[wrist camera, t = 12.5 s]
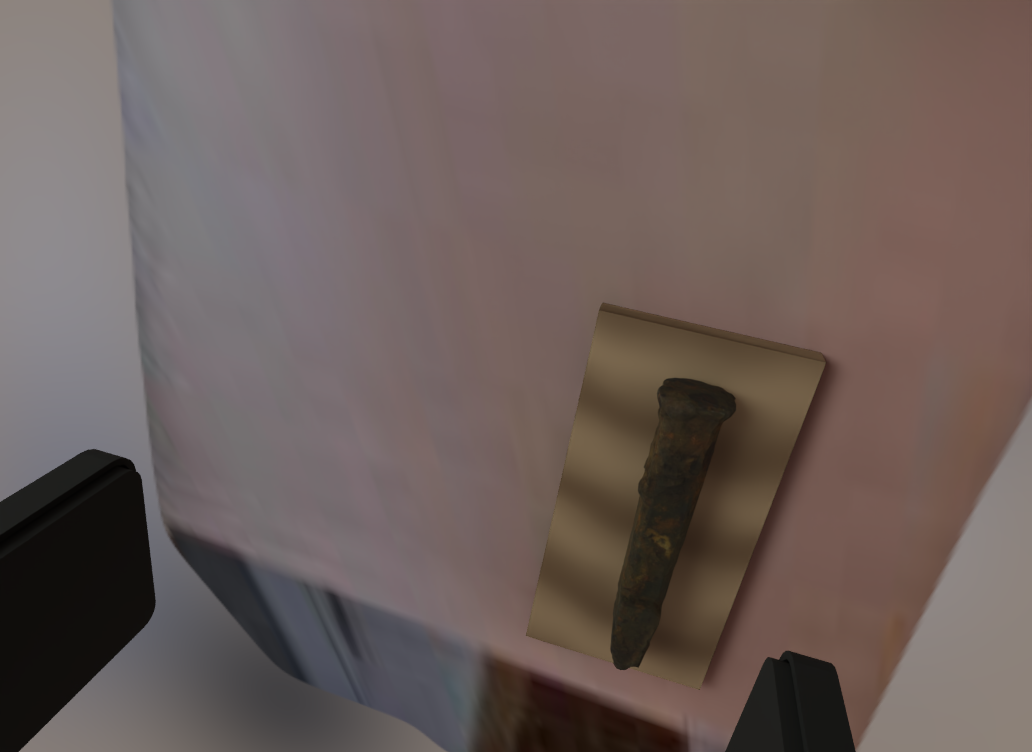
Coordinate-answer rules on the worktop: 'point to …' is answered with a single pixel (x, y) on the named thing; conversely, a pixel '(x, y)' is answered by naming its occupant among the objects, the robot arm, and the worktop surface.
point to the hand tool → (665, 508)
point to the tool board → (620, 466)
